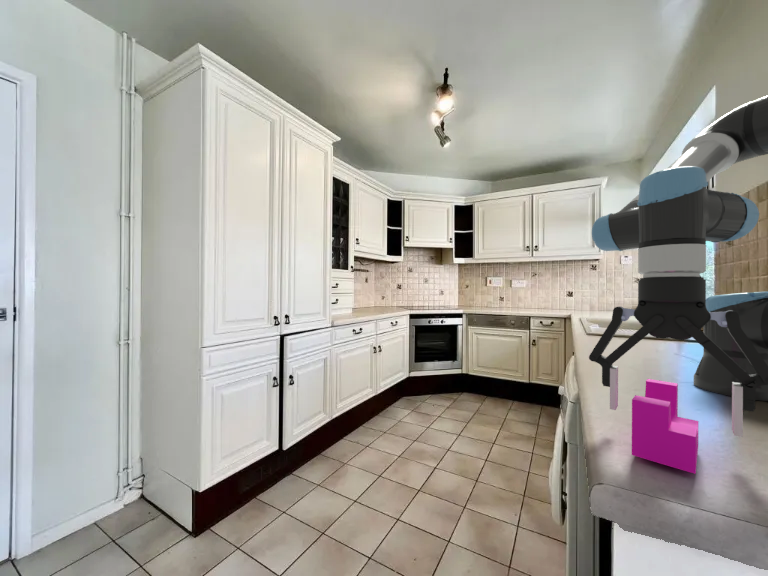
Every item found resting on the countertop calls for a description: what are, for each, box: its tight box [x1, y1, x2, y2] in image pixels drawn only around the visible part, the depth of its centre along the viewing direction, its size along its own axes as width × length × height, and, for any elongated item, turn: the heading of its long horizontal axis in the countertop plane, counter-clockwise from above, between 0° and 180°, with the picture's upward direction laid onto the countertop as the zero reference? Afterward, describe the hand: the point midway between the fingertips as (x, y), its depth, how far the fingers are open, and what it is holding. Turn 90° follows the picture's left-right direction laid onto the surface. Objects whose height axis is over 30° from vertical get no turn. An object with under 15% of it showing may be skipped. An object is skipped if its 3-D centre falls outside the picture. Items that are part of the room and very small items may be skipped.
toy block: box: [631, 378, 699, 475], centre depth 47 cm, size 15×6×8 cm, turn 135°
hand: (669, 419), depth 48 cm, fingers open, 13 cm apart
